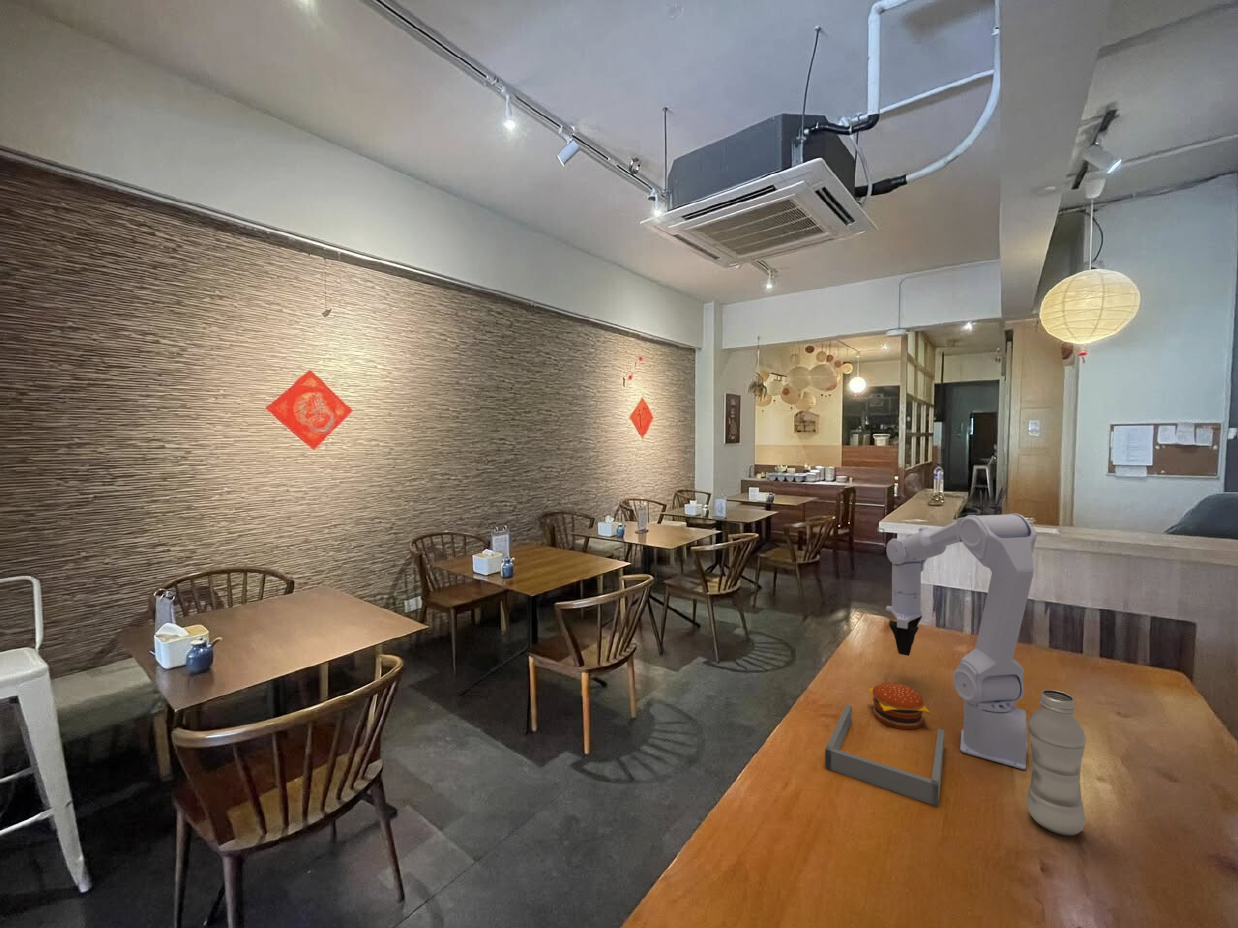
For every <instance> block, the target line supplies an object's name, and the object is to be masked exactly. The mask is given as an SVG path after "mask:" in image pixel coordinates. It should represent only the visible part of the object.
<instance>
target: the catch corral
mask: <svg viewBox="0 0 1238 928" xmlns="http://www.w3.org/2000/svg"><path fill="white" fill-rule="evenodd" d="M852 723H853V706H852V705H851V704H848V703H846V704H845V707H844V709H843V711H842V713H841V715H840V717H839V719H838V721H837V724H836V726H835V727H834V730H833V731H832V734H831V736H830V738H829V740H828V742H827V744H826V747H825V748H824V753H825V754H824V763H825V764H824V766H825V767H824V768H825V769H827V770H828V771H829V770H830V771H833V772H834V773H835V772H836V773H839V774H842V775H844V776H847V777H851V778H853V779H856V780H858V781H862V782H865V783H867V784H871V785H873V786H876V787H879V788H883V789H886V790H888V791H891V792H895V793H897V794H900V795H903V796H905V797H908V798H911V799H915V800H918V801H920V802H923V803H927V804H929V805H932V806H934V807H939V802H940V791H941V782H942V773H943V765H944V763H943V762H944V756H945V753H944V752H945V729H941V728H937V735H936V743H935V751H934V758H933V765H932V773H931V778H929V777H926V776H925V777H924V776H922V775H918V774H915V773H913V772H912V773H911V772H909V771H906V770H902V769H899V768H896V767H893V766H891V765H887V764H884V763H881V762H877V761H876V760H875V761H874V760H872V759H868V758H865V757H863V756H859V755H856V754H852V753H850V752H846V751H843V750H841V747H842V745H843V744H844V742H845V739H846V736H847V734H848V732H849V729H850V726H851V725H852Z"/></svg>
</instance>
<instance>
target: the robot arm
mask: <svg viewBox="0 0 1238 928" xmlns="http://www.w3.org/2000/svg"><path fill="white" fill-rule="evenodd" d="M1037 536H1038V532H1036V530H1035V529H1034V527H1033V526H1032V525H1031V523H1030V522H1029V520H1028V519H1027V518H1026V517H1025V516H1024V515H1022V514H1020V513H1017V512H1014V513H1012V512H1011V513H1008V514H989V515H988V514H985V515H983V514H982V515H975V514H968V515H966V516H964V517H958V518H957V519H956V521H954V522H951V523H949V524H947V525H945V526H943V527H942V528H940V529H936V528H930V527H929V526H926V527H925V526H924V527H920V528H918V532H916V533H908V534H906V535H905V537H903V538H891V539H890V540H889V541H888V542H887V544H886V547H885V548H886V556H887V558H888V560H889V561H890V563H892V564H891V565H892V566H891V605H886V607H885V611H887V612H890V613H891V614H892V615H893V616H894V618H895V619H896V621H895V620H890V621H889V623H888V624H889V627H890V629H891V632H892V633H893V636H894V639H895V645H896V649H897V652H898V655H903V656H907V657H908V656H910V654H911V651H912V646H913V644H914V641H915V636H916V634H917V633H918V630H919V626H918V625H919V623H920V621H921V619H922V618H923V614H922V610H921V609H922V608H921V606H922V605H921V604H922V603H921V602H922V601H921V597H922V596H921V593H922V590H921V588H922V587H921V586H922V580H921V579H922V572H923V571H924V568H925V567H924V566H925V563H926V562H927V560H928V559H930V558H933V557H936V556H939V555H942V554H943V553H944V552H946V550H947V546H950V545H954V544H957V543H962V544H963V545H964V546H965V547H966V548H967V550H968V551H969V552H970V553H971V554H972V556H974V557H975V559H977V561H978V562H979V563H980V564H981V565H982V566H984V567H985V568H988V570H989V569H990V572H991V576H990V581H989V584H988V589H987V595H986V599H985V604H984V608H983V613H982V616H981V622H980V625H979V631H978V633H977V634H978V635H977V639H976V644H975V647H974V649H972V650H971V651H970V652H969V653H967V654H965V655H964V656H963V657H962V658H961V659H960V663H959V666H958V667H957V668H956V669H954V672H953V677H952V681H953V682H952V683H953V687H954V688H955V691H956V693H957V694H958V695H959V697H960V698H961V699H962V700H963V729H961V730H960V732H961V733H960V749H959V750H960V752H961V753H963V754H967V755H970V756H974V757H978V758H981V759H984V760H988V761H992V762H995V763H999V764H1002V765H1006V766H1009V767H1014V768H1018V769H1020V770H1026V769H1027V753H1028V751H1029V750H1028V749H1029V747H1028V745H1029V744H1028V742H1027V736H1028V735H1027V733H1028V732H1027V729H1028V726H1027V714H1026V713H1027V712H1026V710H1024V709H1022V708H1019V707H1017V701H1020V700H1021V699H1022V698H1023V697H1024V695H1025V683H1024V673H1025V669H1024V668H1023V667H1022V665H1021V664H1020V663H1019V662H1018V661H1017V660H1015V659H1014V655H1015V651H1016V647H1017V642H1018V638H1019V636H1020V631H1021V626H1022V622H1023V618H1024V614H1025V609H1026V606H1027V603H1028V598H1029V594H1030V589H1031V585H1032V581H1033V578H1034V573H1035V572H1034V570H1035V569H1034V560H1033V554H1034V549H1035V543H1036V541H1037V540H1036V539H1037Z"/></svg>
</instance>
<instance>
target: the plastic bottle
mask: <svg viewBox="0 0 1238 928" xmlns="http://www.w3.org/2000/svg"><path fill="white" fill-rule="evenodd" d="M1040 696H1041V697H1040V700H1039V704H1040V706H1041V707H1040V708H1039V709H1037V710H1036V711H1035V712H1034V713H1033V714H1031V715H1030V717H1029V719H1028V721H1027V729H1028V735H1029V739H1030V746H1031V748H1030V749H1031V758H1032V759H1031V763H1032V764H1031V765H1032V769H1031V778H1030V785H1029V787H1028V791H1027V793H1026V794H1027V795H1026V805H1027V809H1028V812H1029V815H1030V816H1031V817H1032V818H1033V820H1034V821H1035V822H1036V823H1037V824H1038V825H1040V826H1041V827H1043V828H1045V829H1046V830H1048V831H1050V832H1053V833H1056V834H1059V835H1063V836H1070V837H1071V836H1075V835H1078V834H1079V833H1080V832H1082V831H1083V830H1084V826H1085V824H1086V823H1085V822H1086V816H1085V810H1084V805H1083V801H1082V793H1081V792H1082V791H1081V790H1082V789H1081V781H1080V780H1081V768H1082V761H1083V756H1084V753H1085V749H1086V748H1085V747H1086V742H1087V741H1086V740H1087V737H1086V734H1085V730H1084V729H1083V727H1082V726H1081V724H1080V723H1079V721H1078V720H1077V719H1076V717H1075V716H1074V715H1073V714H1075V711H1076V708H1075V698H1074V697H1073V696H1072V695H1070V694H1068V693H1066V692H1063V691H1059V690H1056V689H1043V690H1041V693H1040Z"/></svg>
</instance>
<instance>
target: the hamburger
mask: <svg viewBox="0 0 1238 928" xmlns="http://www.w3.org/2000/svg"><path fill="white" fill-rule="evenodd" d="M867 690H868V691H869V692H870V694H871V695H872V696H873V697H872V701H873V709H872V712H873V714H874V715H873V716H874V717H875V719H876V720H878V721H879V722H880V723H883V724H884V725H887V726H888V727H892V728H895V729H899V730H906V731H907V730H917V729H919V728H921V727H922V725H923V722H924V719H923V717H922V716H923V712H924V713H927V714H931V712H930V711H929V709H928V708H927V706H926V705H925V703H924V701H923V700H924V699H923V697H922V695H921V694H920V692H918V691H917V690H915V689H913V688H911V687H909V686H908V685H906V684H901V683H897V682H881V683H880V684H878V685H876V686H874V687H871V688H868V689H867Z"/></svg>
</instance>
